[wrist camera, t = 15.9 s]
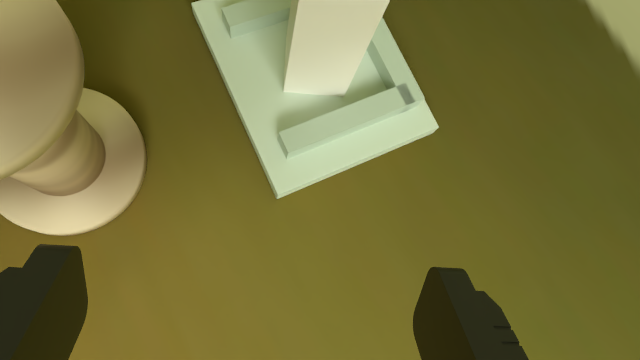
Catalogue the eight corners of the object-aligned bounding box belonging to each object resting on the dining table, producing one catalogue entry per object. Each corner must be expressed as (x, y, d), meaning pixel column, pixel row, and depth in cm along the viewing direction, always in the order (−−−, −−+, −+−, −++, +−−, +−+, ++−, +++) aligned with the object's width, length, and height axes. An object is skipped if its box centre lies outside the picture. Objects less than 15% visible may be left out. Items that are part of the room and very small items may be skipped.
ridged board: (193, 13, 28) (188, -11, 25) (345, -34, 30) (352, -60, 28) (276, 199, 26) (279, 190, 24) (432, 133, 28) (447, 119, 26)
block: (281, 93, 26) (304, -47, 16) (284, 34, 27) (307, -135, 16) (345, 98, 27) (409, -33, 16) (346, 41, 27) (408, -120, 17)
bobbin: (-30, 124, 24) (-245, -11, 14) (117, 75, 26) (28, -78, 15) (16, 260, 23) (-178, 229, 12) (168, 200, 25) (109, 127, 14)
